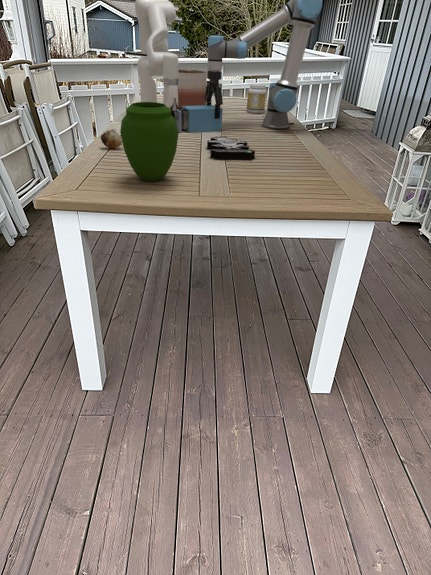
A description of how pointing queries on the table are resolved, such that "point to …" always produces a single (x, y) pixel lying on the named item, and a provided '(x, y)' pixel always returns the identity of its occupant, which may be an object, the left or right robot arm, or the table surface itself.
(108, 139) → the seashell
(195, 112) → the blue storage bin
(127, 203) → the table surface
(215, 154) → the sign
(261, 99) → the supplement tub
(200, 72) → the planter
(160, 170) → the vase
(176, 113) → the drawer
